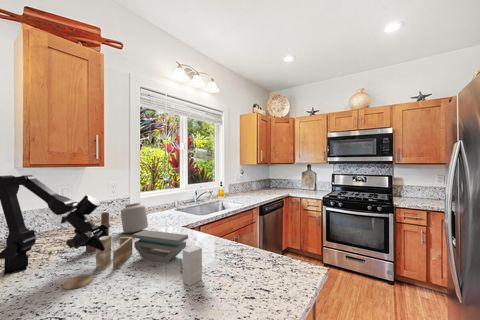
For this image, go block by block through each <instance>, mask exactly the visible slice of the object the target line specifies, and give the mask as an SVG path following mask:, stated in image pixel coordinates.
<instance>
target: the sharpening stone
mask: <svg viewBox="0 0 480 320" xmlns="http://www.w3.org/2000/svg"><path fill="white" fill-rule="evenodd" d="M132 238H133V239H138V240H135V241H133V242H134V244H133V245H134V249H135V250H136V251H137V253H138V254H139V255H140V257H141V258H142V259H143V261H147V262H153V263H158V262H159V263H158V264H164V263H165V264H167V263H168V262H170V261H171V260H173V259H174V258H176V257H177V256H178V255H179V254H180V253H181V252H183V250H185V249H186V247H187V242H186V240H188V239H189V235H188V234H181V233H174V232H167V231H165V232H164V231H157V230H147V229H143V230H140V231H137V232H135V233H133V234H132Z"/></svg>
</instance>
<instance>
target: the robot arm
mask: <svg viewBox="0 0 480 320" xmlns="http://www.w3.org/2000/svg"><path fill="white" fill-rule="evenodd" d="M20 186H23V187H24V188H26V189H27V190H28V191H29V192H31V193H33V194H34V195H36V197H38V198H39V199H41V200H43V201H44V202H45V203H46V204H47V206H48V209H49V210H50V211H51V212H52V213H53V214H54V215H57V216H61V215H64V216H61V220H60V224H61V225H62V224H65V223H69V224H70V225H71V226H72V227H73V229H74V230H73V233H74V234H75V235H74V236H73V237H72V238H69V239H67V240H66V242H65V244H66V246H67V247H69V249H72V248H73V249H76V250H78V249H79V248H81V247H82V248H84V247H86V246H91V247H94V248H96V249H98V250H101V251H104V250H105V248H104V246H103V244H102V242H101V241H100V239H99V238H100V237H102V236H110V234H109V235H108V228H109V229H110V227H111V225H110V223H109V224H108V223H104V224H102V225H101V224H100V225H98V224H96V225H95V224H94V223H93V222H92V221H93V218H91V217H90V218H88V217H87V216H90V215H91V214H92V213H93V212H94V211H95V210H96V209H98V207H99V206H100V205H101V202H100V200H98V199H97V198H95V197H94V196H91V195H90V194H86V195H84V196H83V197H82V199H81V200H80V201H74V200H73V199H71V198H69V197H67V196H64V195H61V194H59V193H57V192H55V191H54V190H53V189H52V188H50V187H49V186H47V185H45V184H44V183H43V182H42V181H40V180H39V179H38V178H37V177H36V176H35V175H32V174H28V175H27V174H26V175H20V176H14V175H0V206H1V207H2V212H3V216H4V218H5V223H6V226H7V229H8V235H7V237H6V239H5V242H6V243H5V244H6V247H5V248H4V249H3V250H1V251H0V260H4V267H3V268H4V269H3V275H8V274H14V273H17V272H21V271H26V270H27V268H28V267H29V254H28V253H27V252H30V251H31V250H32V247H34V245H35V244H36V239H37V236H36V233H35V229H28V227H26V224H25V221H24V216H23V213H22V210H21V205H20V202H19V198H18V192H19V190H20ZM65 214H67V215H65ZM86 215H87V216H86Z"/></svg>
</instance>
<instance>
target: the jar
mask: <svg viewBox="0 0 480 320" xmlns="http://www.w3.org/2000/svg"><path fill="white" fill-rule="evenodd" d="M147 215H148V214H147V208H146V206H145V205H144V204H141V202H135V203H130V204H125V205H124V208H122V209H121V210H120V218H121V224H122V225H121V226H122V232H123V233H124V234H125V233H126V234H129V233H137V232H141V231H143V230H146V229H147V227H148V226H149V223H148V216H147Z"/></svg>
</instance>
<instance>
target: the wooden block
mask: <svg viewBox="0 0 480 320" xmlns="http://www.w3.org/2000/svg"><path fill="white" fill-rule="evenodd" d="M100 217H101V218H100V223H101V224H100V225H102V224H104V223H108V224H109V225H110V212H109V211H102V212H101V216H100ZM109 229H110V227H109V228H108V235H109V236H110V230H109ZM85 252H87V253H92V252H93V253H94V252H96V248H94V247H91V246H85Z"/></svg>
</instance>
